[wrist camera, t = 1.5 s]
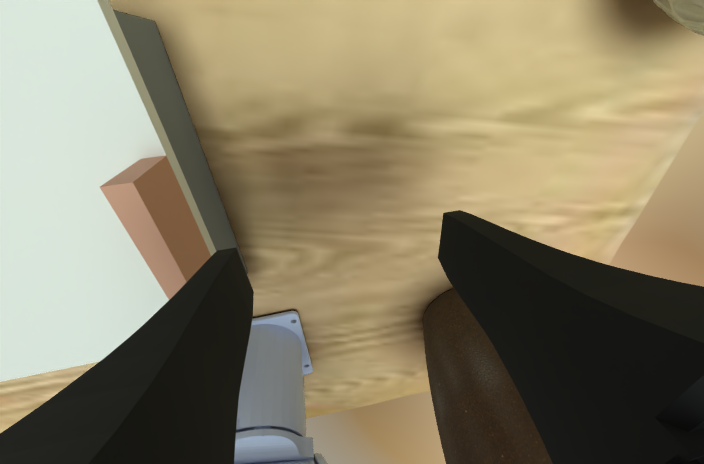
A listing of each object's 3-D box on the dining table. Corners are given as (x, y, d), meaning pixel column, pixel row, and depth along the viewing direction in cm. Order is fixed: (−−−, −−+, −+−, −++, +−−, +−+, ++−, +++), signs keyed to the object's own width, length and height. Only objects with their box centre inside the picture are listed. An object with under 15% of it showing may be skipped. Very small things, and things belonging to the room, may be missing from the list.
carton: (247, 271, 22) (239, 315, 18) (-40, 323, 20) (-117, 385, 16) (154, 21, 14) (103, 6, 10) (-376, 60, 11) (-712, 61, 7)
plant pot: (385, 271, 25) (496, 516, 12) (536, 239, 27) (787, 423, 13) (390, 366, 33) (458, 574, 20) (505, 338, 35) (641, 512, 21)
